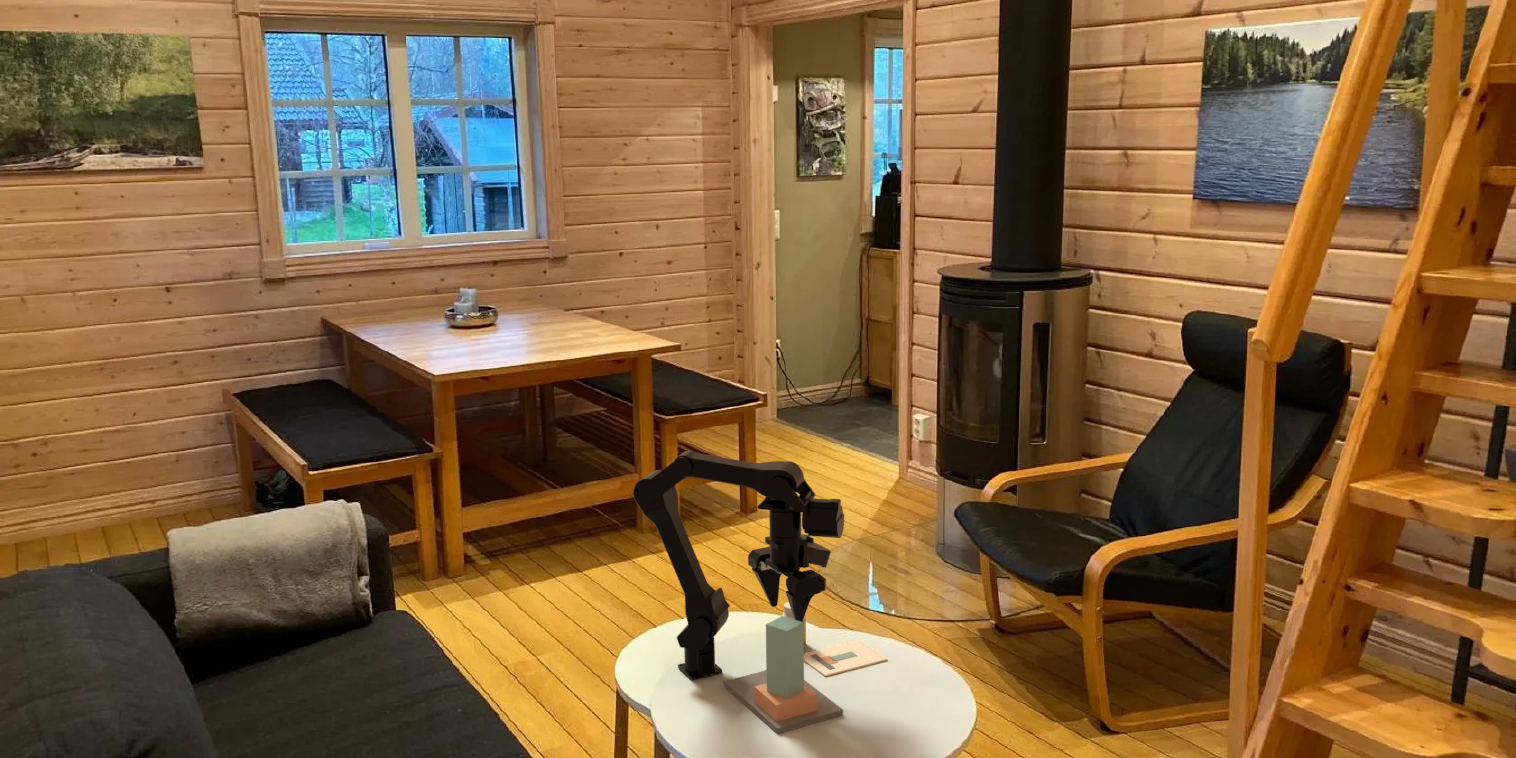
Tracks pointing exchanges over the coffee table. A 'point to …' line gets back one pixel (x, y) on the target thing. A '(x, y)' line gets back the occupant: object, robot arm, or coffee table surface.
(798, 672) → the tall brick
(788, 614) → the supplement bottle
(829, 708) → the baseplate
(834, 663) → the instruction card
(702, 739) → the coffee table surface
